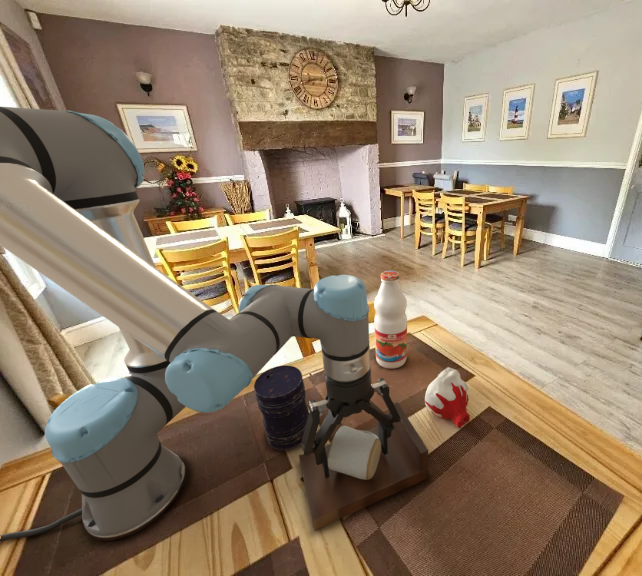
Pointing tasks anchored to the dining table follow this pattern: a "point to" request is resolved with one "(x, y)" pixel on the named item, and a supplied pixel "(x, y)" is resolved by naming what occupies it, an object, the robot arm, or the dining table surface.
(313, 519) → the dark wooden tray
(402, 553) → the dining table surface
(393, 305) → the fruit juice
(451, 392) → the white red rounded piece
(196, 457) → the dining table surface
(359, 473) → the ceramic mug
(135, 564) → the dining table surface
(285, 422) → the storage jar
